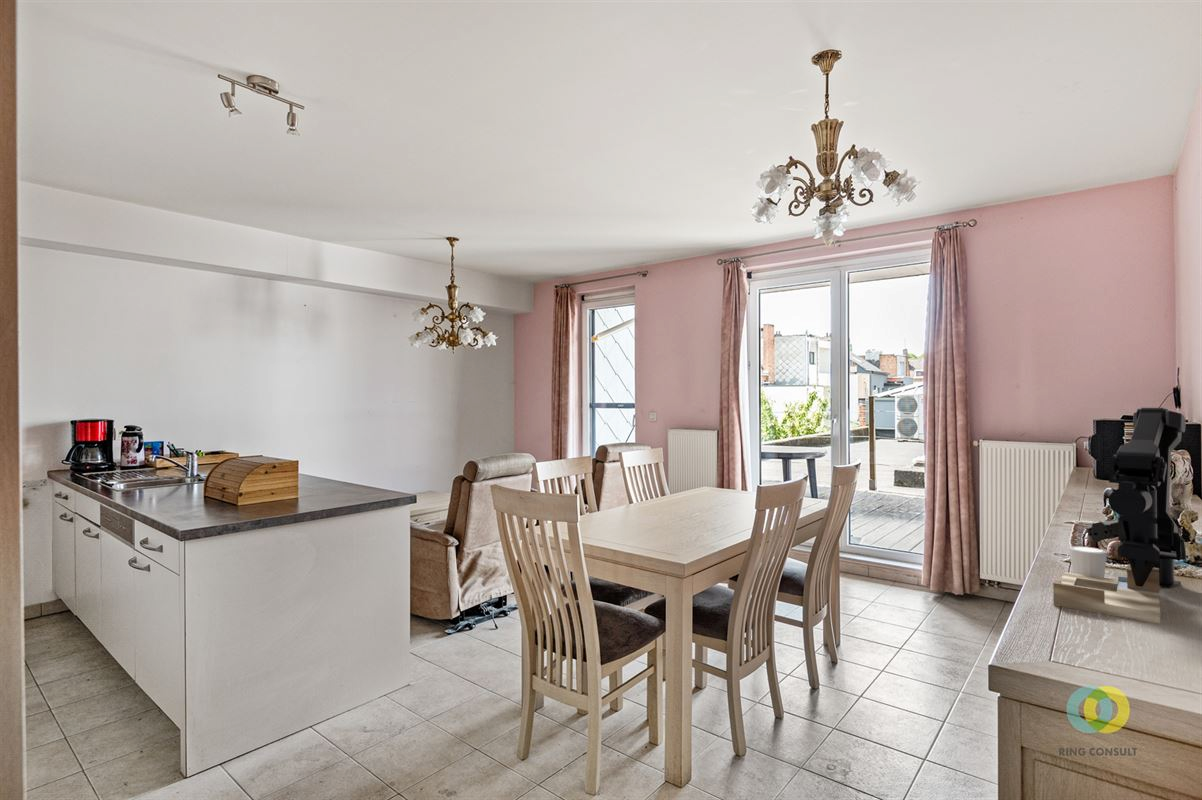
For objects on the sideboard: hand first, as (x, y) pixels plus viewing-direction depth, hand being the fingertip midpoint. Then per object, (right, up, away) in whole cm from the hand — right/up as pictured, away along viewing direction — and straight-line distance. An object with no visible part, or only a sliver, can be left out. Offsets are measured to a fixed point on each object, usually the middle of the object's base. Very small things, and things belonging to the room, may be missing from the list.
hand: (1139, 585), depth 126 cm
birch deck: (-6, -3, +1) cm, 7 cm away
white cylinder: (+2, -3, +15) cm, 16 cm away
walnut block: (+3, -1, +3) cm, 5 cm away
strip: (+2, -3, +3) cm, 5 cm away
